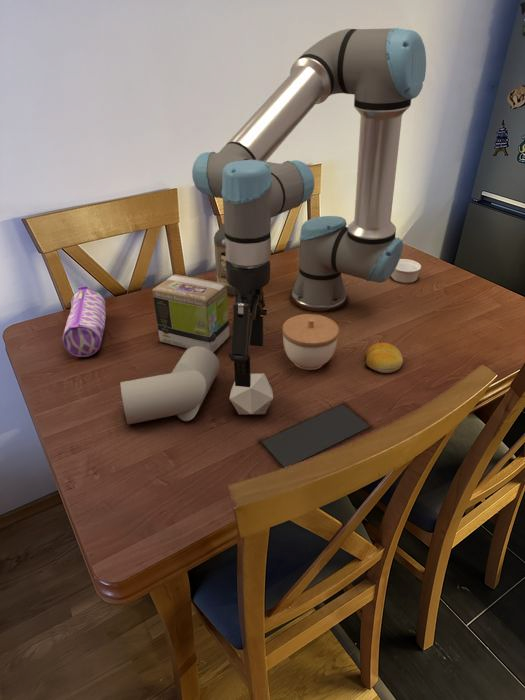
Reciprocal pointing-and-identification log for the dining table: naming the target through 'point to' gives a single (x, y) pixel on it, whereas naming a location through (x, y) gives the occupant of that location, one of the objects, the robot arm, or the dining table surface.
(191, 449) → the dining table surface
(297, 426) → the edge mat
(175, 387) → the bent grey cylinder
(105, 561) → the dining table surface
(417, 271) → the ramekin
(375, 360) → the bread roll
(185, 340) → the tea box
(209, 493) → the dining table surface
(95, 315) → the pencil case
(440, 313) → the dining table surface
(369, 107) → the robot arm
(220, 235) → the liquor
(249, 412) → the die
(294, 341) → the cork-lidded white jar
